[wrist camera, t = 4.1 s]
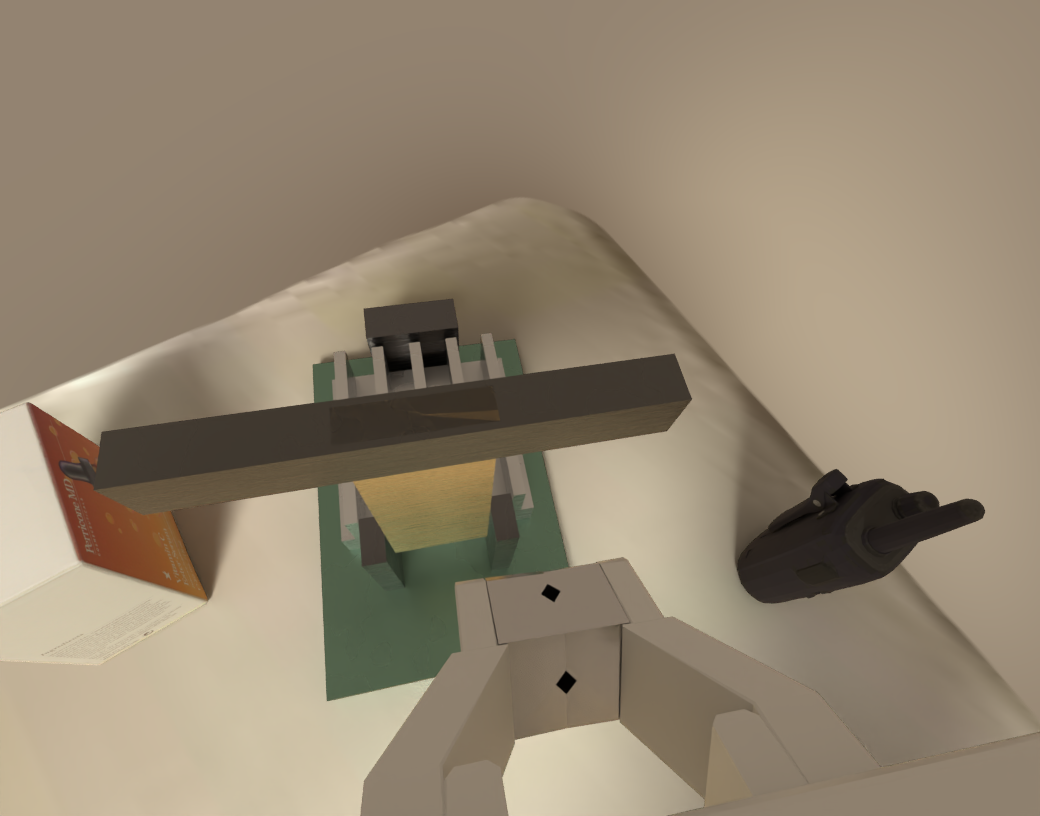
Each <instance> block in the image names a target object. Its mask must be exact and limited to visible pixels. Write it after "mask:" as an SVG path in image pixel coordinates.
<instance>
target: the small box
mask: <svg viewBox="0 0 1040 816" xmlns="http://www.w3.org/2000/svg"><path fill="white" fill-rule="evenodd" d="M99 448H100V447H99V446H97V445H96V444H94V443H93V442H92V441H90V440H88V439H87V438H85V437H84V436H82V435H81V434H79V433H77V432H76V431H74V430H73V429H71V428H69V427H68V426H66V425H65V424H63V423H61V422H60V421H58V420H57V419H55V418H54V417H52V416H50V415H49V414H47V413H46V412H44V411H42V410H41V409H39V408H38V407H36V406H35V405H33V404H31V403H29V402H27V403H23V404H21V405H19V406H16V407H14V408H11V409H8V410H6V411H3V412H1V413H0V661H19V662H41V663H62V664H82V665H100V664H102V663H104V662H105V661H107V660H109V659H110V658H112V657H114V656H116V655H117V654H119V653H121V652H123V651H124V650H126V649H128V648H130V647H131V646H133V645H135V644H137V643H138V642H140V641H142V640H144V639H145V638H147V637H149V636H151V635H152V634H154V633H156V632H158V631H159V630H161V629H163V628H164V627H166V626H168V625H170V624H171V623H173V622H175V621H177V620H178V619H180V618H182V617H183V616H185V615H187V614H189V613H190V612H192V611H194V610H196V609H197V608H199V607H201V606H203V605H204V604H206V603H207V602H208V598H207V596H206V594H205V592H204V590H203V587H202V585H201V583H200V581H199V579H198V577H197V575H196V572H195V570H194V568H193V565H192V563H191V561H190V558H189V556H188V553H187V551H186V548H185V546H184V543H183V541H182V538H181V536H180V533H179V531H178V528H177V526H176V523H175V521H174V518H173V516H172V513H171V511H167V512H160V513H154V514H148V515H142V514H140V513H138V512H136V511H134V510H132V509H130V508H128V507H126V506H124V505H122V504H120V503H118V502H116V501H114V500H112V499H110V498H108V497H106V496H104V495H102V494H100V493H98V492H96V491H94V490H93V489H94V483H95V476H96V469H97V462H98V455H99Z"/></svg>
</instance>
